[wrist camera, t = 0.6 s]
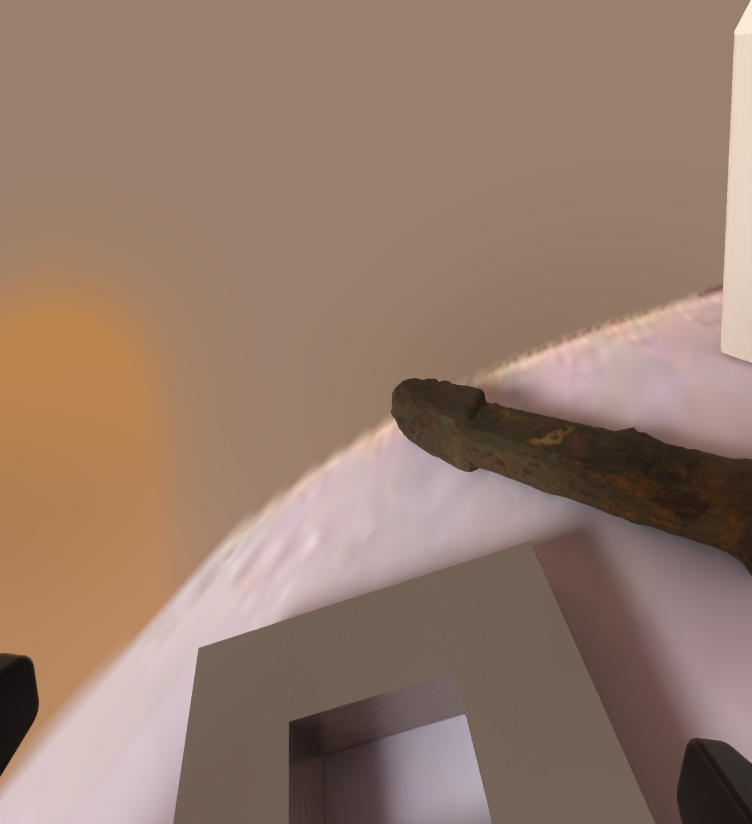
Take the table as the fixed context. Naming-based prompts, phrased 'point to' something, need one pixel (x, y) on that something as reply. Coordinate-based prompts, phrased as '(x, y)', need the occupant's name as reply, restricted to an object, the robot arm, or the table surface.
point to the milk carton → (739, 203)
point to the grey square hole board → (409, 701)
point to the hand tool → (585, 463)
